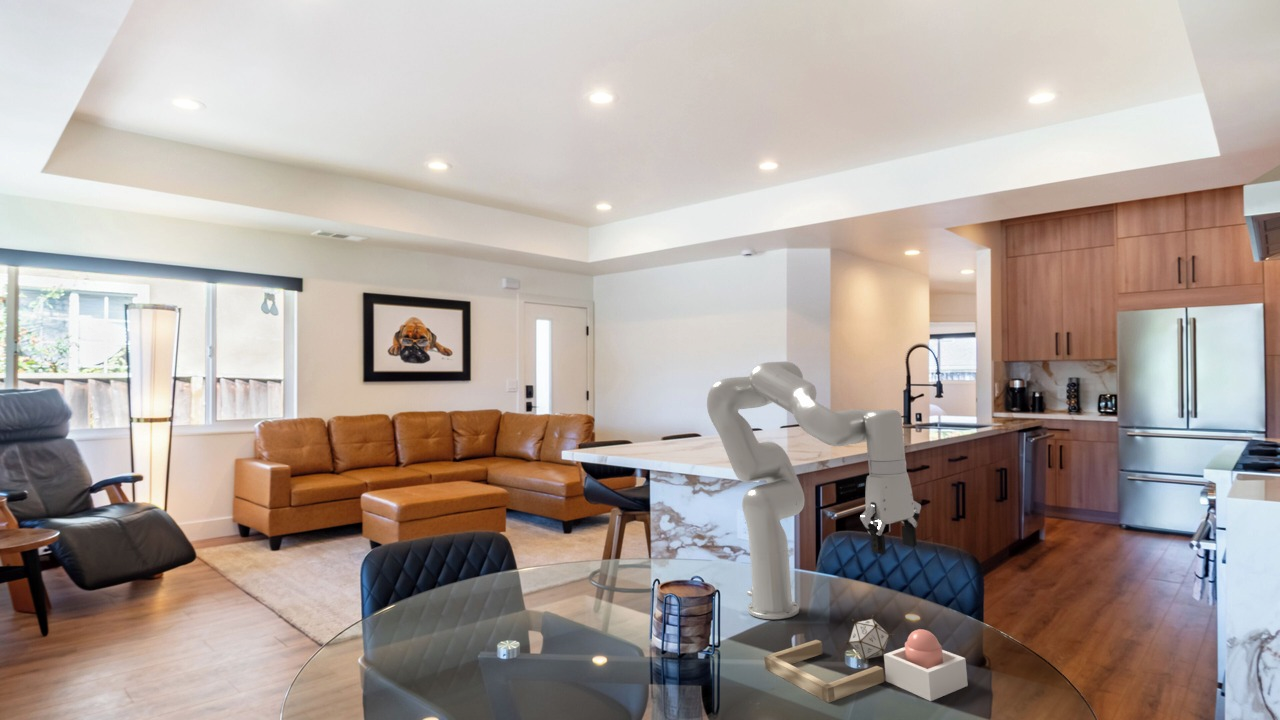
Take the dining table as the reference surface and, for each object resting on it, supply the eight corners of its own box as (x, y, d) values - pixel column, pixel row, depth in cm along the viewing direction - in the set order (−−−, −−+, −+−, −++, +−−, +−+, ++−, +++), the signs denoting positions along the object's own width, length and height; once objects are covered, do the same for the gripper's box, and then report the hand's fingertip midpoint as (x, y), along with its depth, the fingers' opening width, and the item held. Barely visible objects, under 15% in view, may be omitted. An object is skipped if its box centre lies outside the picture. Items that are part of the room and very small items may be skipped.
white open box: (886, 681, 128) (883, 654, 128) (922, 667, 133) (920, 641, 133) (930, 701, 119) (928, 672, 120) (967, 685, 124) (965, 658, 124)
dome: (898, 660, 128) (896, 629, 128) (921, 651, 131) (919, 621, 131) (927, 672, 122) (924, 639, 122) (950, 662, 125) (948, 631, 125)
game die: (881, 679, 137) (898, 650, 132) (839, 663, 139) (854, 634, 133) (882, 642, 144) (898, 613, 139) (842, 628, 146) (857, 599, 141)
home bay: (765, 668, 137) (764, 656, 137) (817, 651, 144) (816, 639, 144) (828, 702, 121) (827, 688, 121) (884, 681, 128) (883, 668, 128)
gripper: (901, 461, 152) (908, 539, 151) (844, 471, 144) (851, 553, 143) (929, 464, 145) (937, 545, 145) (871, 474, 137) (879, 560, 136)
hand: (894, 549), depth 144 cm, fingers open, 8 cm apart
